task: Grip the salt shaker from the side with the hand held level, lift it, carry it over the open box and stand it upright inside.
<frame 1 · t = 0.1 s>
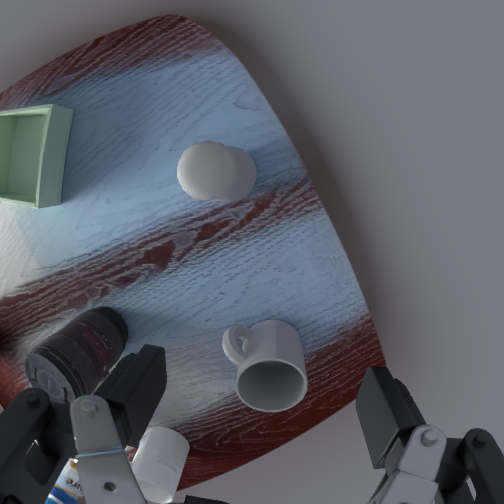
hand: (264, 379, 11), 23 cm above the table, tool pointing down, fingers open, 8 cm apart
cup: (263, 336, 36), on the table
beverage bottle: (84, 456, 47), on the table
salt shaker: (231, 175, 32), on the table
open box: (36, 155, 32), on the table
camera lens: (109, 326, 37), on the table
mug: (158, 434, 42), on the table
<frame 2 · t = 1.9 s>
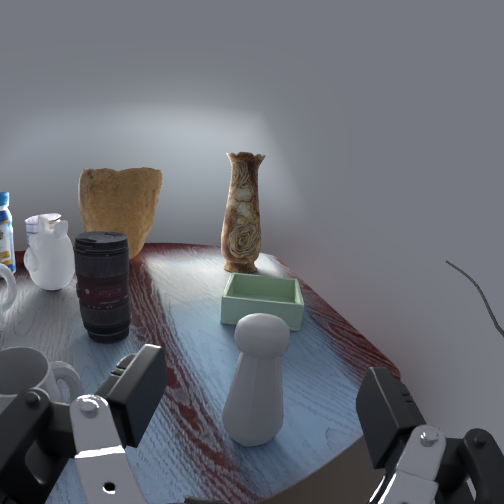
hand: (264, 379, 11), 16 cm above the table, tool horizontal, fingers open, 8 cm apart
cup: (56, 436, 19), on the table
beverage bottle: (3, 274, 53), on the table
piggy bank: (54, 290, 51), on the table
salt shaker: (250, 433, 25), on the table
open box: (261, 311, 54), on the table
camera lens: (108, 334, 40), on the table
tan rough tapered pot: (119, 262, 74), on the table
vase: (238, 268, 79), on the table
can: (45, 258, 70), on the table
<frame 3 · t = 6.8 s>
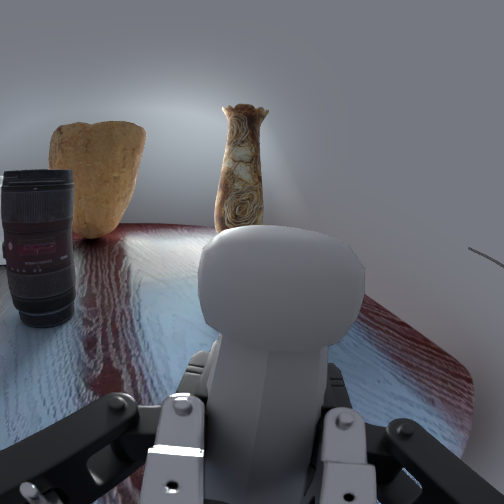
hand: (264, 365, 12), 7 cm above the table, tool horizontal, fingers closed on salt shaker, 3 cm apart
piggy bank: (6, 265, 36), on the table
salt shaker: (246, 502, 10), on the table, touching gripper
camera lens: (47, 315, 25), on the table
tan rough tapered pot: (93, 239, 60), on the table
vase: (235, 247, 64), on the table
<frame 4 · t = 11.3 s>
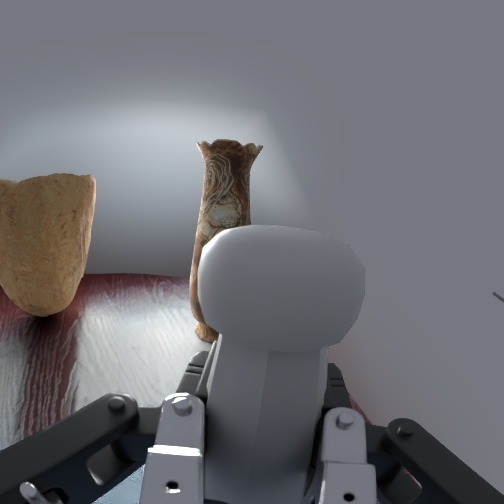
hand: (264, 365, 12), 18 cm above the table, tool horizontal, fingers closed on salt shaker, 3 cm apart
salt shaker: (246, 502, 10), point 10 cm above the table, touching gripper
tan rough tapered pot: (48, 314, 44), on the table
vase: (219, 331, 48), on the table
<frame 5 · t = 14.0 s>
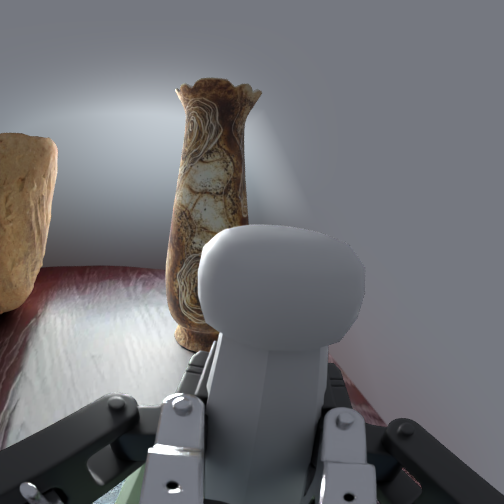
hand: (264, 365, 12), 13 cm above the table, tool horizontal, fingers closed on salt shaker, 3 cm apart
salt shaker: (246, 502, 10), point 5 cm above the table, touching gripper
tan rough tapered pot: (5, 311, 32), on the table
vase: (206, 335, 37), on the table
when the fingers open (8 cm above the table, at t = 15.7 s): salt shaker stays where it is, resting on open box.
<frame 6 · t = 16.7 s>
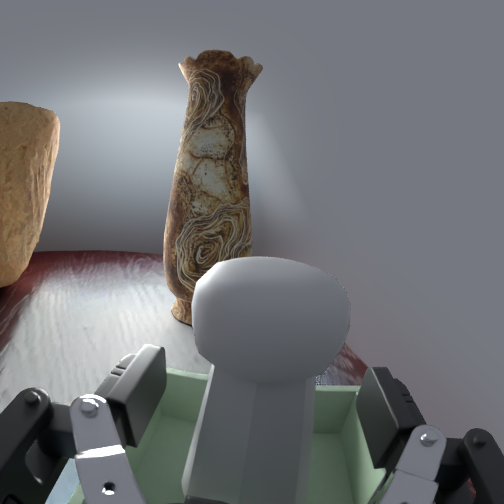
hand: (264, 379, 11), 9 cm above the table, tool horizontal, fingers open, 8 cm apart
vase: (204, 311, 36), on the table
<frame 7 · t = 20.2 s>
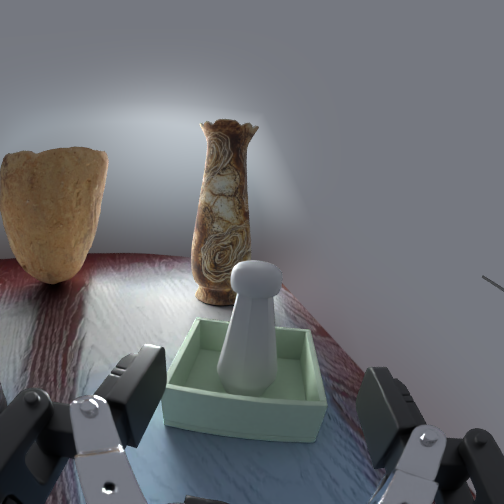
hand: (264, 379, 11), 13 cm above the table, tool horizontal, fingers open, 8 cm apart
salt shaker: (244, 388, 27), point 1 cm above the table, touching open box
open box: (245, 392, 28), on the table
tan rough tapered pot: (56, 283, 48), on the table
vase: (217, 296, 53), on the table
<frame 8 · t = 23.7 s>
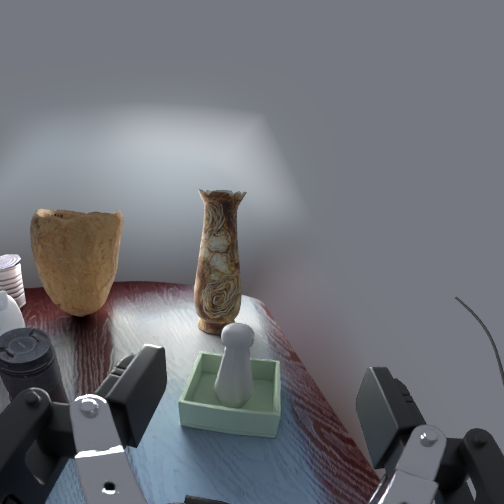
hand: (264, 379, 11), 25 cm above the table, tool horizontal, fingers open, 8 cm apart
piggy bank: (8, 357, 38), on the table
salt shaker: (232, 401, 40), point 1 cm above the table, touching open box
open box: (233, 403, 41), on the table
camera lens: (55, 434, 27), on the table
tan rough tapered pot: (83, 314, 61), on the table
vase: (215, 325, 66), on the table
can: (9, 304, 57), on the table
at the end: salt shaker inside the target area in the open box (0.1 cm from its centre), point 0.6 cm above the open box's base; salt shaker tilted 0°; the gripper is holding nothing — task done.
